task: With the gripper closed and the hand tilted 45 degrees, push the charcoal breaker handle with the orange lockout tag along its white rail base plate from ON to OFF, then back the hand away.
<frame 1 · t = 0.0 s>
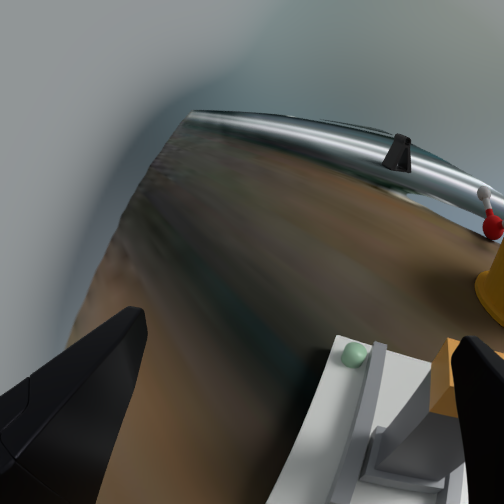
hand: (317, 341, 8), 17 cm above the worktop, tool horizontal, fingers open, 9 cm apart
breaker handle: (441, 428, 14), point 8 cm above the worktop, slide at 0.0 cm
phone stand: (396, 169, 100), on the worktop
molecular model: (488, 239, 58), on the worktop
white rail base plate: (396, 444, 20), on the worktop
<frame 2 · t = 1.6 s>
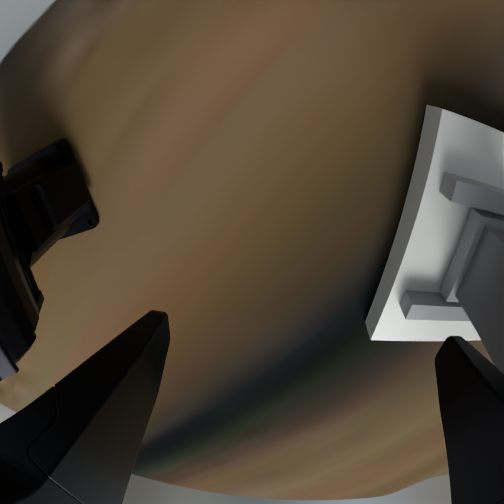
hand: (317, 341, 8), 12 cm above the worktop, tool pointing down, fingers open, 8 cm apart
white rail base plate: (490, 242, 19), on the worktop
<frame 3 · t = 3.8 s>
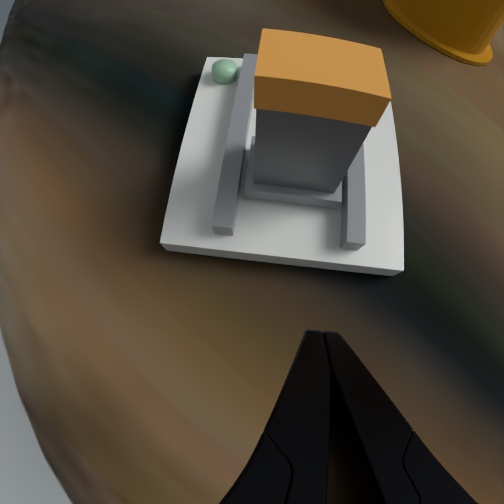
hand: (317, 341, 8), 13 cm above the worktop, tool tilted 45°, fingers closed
breaker handle: (305, 130, 16), point 8 cm above the worktop, slide at 0.0 cm
white rail base plate: (292, 155, 24), on the worktop
spool: (438, 23, 31), on the worktop
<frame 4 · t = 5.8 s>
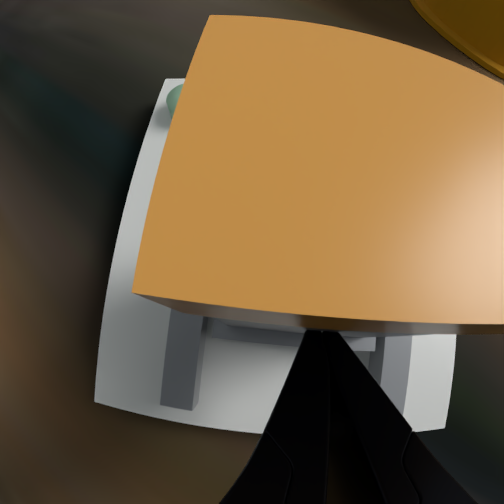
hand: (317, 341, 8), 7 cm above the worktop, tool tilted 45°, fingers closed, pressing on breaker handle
breaker handle: (329, 268, 8), point 8 cm above the worktop, slide at 0.3 cm, touching gripper
white rail base plate: (294, 246, 16), on the worktop
spool: (475, 30, 23), on the worktop
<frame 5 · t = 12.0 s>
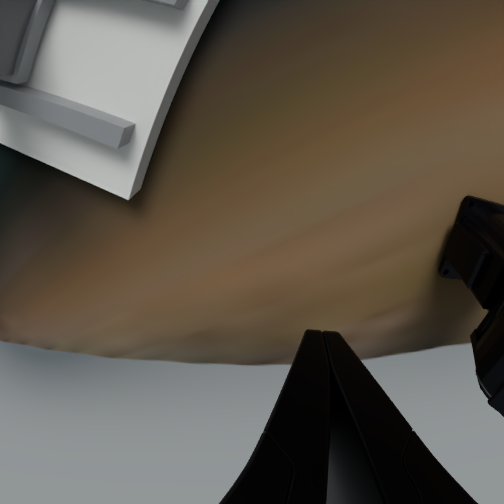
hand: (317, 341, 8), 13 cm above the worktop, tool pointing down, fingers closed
white rail base plate: (72, 40, 15), on the worktop
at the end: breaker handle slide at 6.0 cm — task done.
